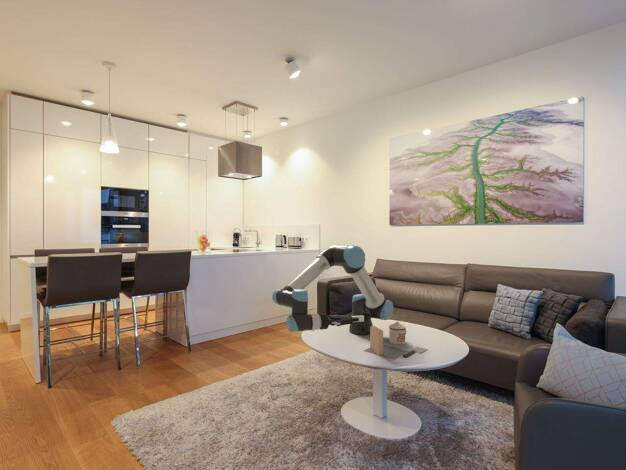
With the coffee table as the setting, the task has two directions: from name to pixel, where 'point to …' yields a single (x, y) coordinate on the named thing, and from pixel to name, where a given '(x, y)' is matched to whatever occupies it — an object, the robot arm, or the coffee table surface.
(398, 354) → the mat
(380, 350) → the tile
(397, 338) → the teacup with lid
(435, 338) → the coffee table surface
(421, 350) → the turner
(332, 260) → the robot arm
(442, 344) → the coffee table surface
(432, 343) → the coffee table surface
